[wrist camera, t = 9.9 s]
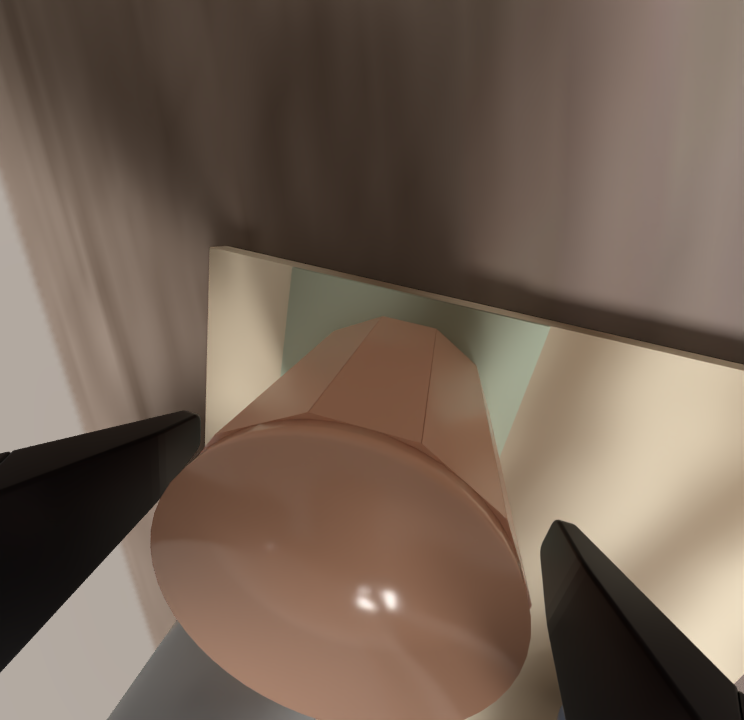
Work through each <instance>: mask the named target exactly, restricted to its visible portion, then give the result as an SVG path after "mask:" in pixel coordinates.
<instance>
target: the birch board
mask: <svg viewBox="0 0 744 720" xmlns="http://www.w3.org/2000/svg"><path fill="white" fill-rule="evenodd" d="M381 316H385V317H389V318H393V319H398V320H402V321H406V322H410V323H415V324H419V325H423V326H427V327H432V328H436V329H437V330H439V331H440V332H441V333H442V334H443V335H444V336H445V337H446V338H447V339H448V340H449V341H450V342H452V343H453V344H454V345H455V346H456V347H457V348H458V349H459V350H460V351H461V352H462V353H463V354H465V355H466V356H467V357H468V358H469V359H470V360H471V361H472V362H473V363H474V364H475V365H476V366H477V369H478V373H479V376H480V380H481V384H482V387H483V391H484V395H485V398H486V402H487V406H488V409H489V413H490V417H491V422H492V426H493V431H494V436H495V440H496V445H497V449H498V454H499V458H500V463H501V467H502V472H503V476H504V481H505V485H506V490H507V495H508V499H509V504H510V508H511V513H512V517H513V522H514V526H515V531H516V535H517V540H518V544H519V549H520V554H521V558H522V563H523V567H524V572H525V576H526V581H527V585H528V590H529V594H530V599H531V603H532V606H531V608H530V614H531V639H530V644H529V649H528V654H527V657H526V660H525V662H524V664H523V667H522V669H521V671H520V674H519V675H518V676H517V678H516V679H515V681H514V682H513V684H512V685H511V686H510V688H509V689H508V690H507V691H506V692H505V693H504V694H503V695H502V696H501V697H500V698H499V699H498V700H497V701H496V702H494V703H493V704H491V705H490V706H488V707H487V708H485V709H484V710H483V711H481V712H479V713H477V714H475V715H473V716H471V717H469V718H467V719H465V720H557V717H558V713H559V710H560V708H561V706H562V700H561V695H560V690H559V685H558V680H557V675H556V670H555V665H554V660H553V655H552V650H551V645H550V640H549V634H548V629H547V622H546V614H545V604H544V593H543V582H542V571H541V561H540V548H541V545H542V542H543V540H544V538H545V536H546V534H547V532H548V530H549V528H550V526H551V524H552V523H553V521H555V520H562V521H566V522H569V523H572V524H574V525H576V526H577V527H578V528H579V529H580V530H581V531H582V532H583V533H584V534H585V535H586V536H587V537H588V538H589V539H590V540H591V541H592V542H593V543H594V544H595V545H596V546H597V547H598V548H599V549H600V550H601V551H602V552H603V553H604V554H605V555H606V556H607V557H608V558H609V559H610V560H611V561H612V562H613V563H614V564H615V565H616V566H617V567H618V568H619V569H620V570H621V571H622V572H623V573H624V574H625V575H626V576H627V577H628V578H629V579H630V580H631V581H632V582H633V583H634V584H635V585H636V586H637V587H638V588H639V589H640V590H641V591H642V592H643V593H644V594H645V595H646V596H647V597H648V598H649V599H650V600H651V601H652V602H653V603H654V604H655V605H656V606H657V607H658V608H659V609H660V610H661V611H662V612H663V613H664V614H665V615H666V616H667V617H668V618H669V619H670V620H671V621H672V622H673V623H674V624H675V625H676V626H677V627H678V628H679V629H680V630H681V631H682V632H683V633H684V634H685V635H686V636H687V637H688V638H689V639H690V640H691V641H692V642H693V643H694V644H695V645H696V646H697V647H698V648H699V649H700V651H701V652H702V653H703V654H704V655H705V656H706V657H707V658H708V659H709V660H710V661H711V662H712V663H713V664H714V665H715V666H716V667H717V668H718V669H719V670H720V671H721V672H722V673H723V674H724V675H725V676H726V677H727V678H728V679H729V680H730V681H731V682H732V683H733V684H734V683H735V682H736V681H737V680H738V679H739V678H740V677H741V676H742V675H743V674H744V365H743V364H738V363H734V362H730V361H725V360H721V359H717V358H712V357H708V356H704V355H699V354H695V353H691V352H686V351H682V350H678V349H673V348H669V347H665V346H660V345H656V344H651V343H647V342H643V341H638V340H634V339H630V338H625V337H621V336H617V335H612V334H608V333H604V332H599V331H595V330H591V329H586V328H582V327H578V326H573V325H569V324H564V323H560V322H556V321H551V320H547V319H543V318H538V317H534V316H530V315H525V314H521V313H517V312H512V311H508V310H504V309H499V308H495V307H491V306H486V305H482V304H478V303H473V302H469V301H464V300H460V299H456V298H451V297H447V296H443V295H438V294H434V293H430V292H425V291H421V290H417V289H412V288H408V287H404V286H399V285H395V284H391V283H386V282H382V281H377V280H373V279H369V278H364V277H360V276H356V275H351V274H347V273H343V272H338V271H334V270H330V269H325V268H321V267H317V266H312V265H308V264H304V263H299V262H295V261H290V260H286V259H282V258H277V257H273V256H269V255H264V254H260V253H256V252H251V251H247V250H243V249H238V248H234V247H230V246H218V247H210V253H209V295H208V338H207V380H206V422H205V446H206V445H207V444H208V442H209V441H210V440H211V439H212V437H213V436H214V435H215V434H216V433H217V432H218V431H219V430H220V429H222V428H223V427H224V426H225V425H226V424H227V423H228V422H230V421H231V420H232V419H233V418H234V417H235V416H237V415H238V414H239V413H240V412H241V411H242V410H243V409H245V408H246V407H247V406H248V405H249V404H250V403H251V402H253V401H254V400H255V399H256V398H257V397H258V396H260V395H261V394H262V393H263V392H264V391H265V390H266V389H268V388H269V387H270V386H271V385H272V384H273V383H274V382H276V381H277V380H278V379H279V378H280V377H281V376H283V375H284V374H285V373H286V372H287V371H288V370H289V369H291V368H292V367H293V366H294V365H295V364H296V363H297V362H299V361H300V360H301V359H302V358H303V357H304V356H305V355H307V354H308V353H309V352H310V351H311V350H312V349H314V348H315V347H316V346H317V345H318V344H319V343H320V342H322V341H323V340H324V339H325V338H326V337H327V336H328V335H330V334H331V333H332V332H333V331H335V330H338V329H341V328H345V327H348V326H351V325H355V324H358V323H361V322H365V321H368V320H371V319H375V318H378V317H381Z"/></svg>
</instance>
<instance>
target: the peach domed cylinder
mask: <svg viewBox="0 0 744 720" xmlns="http://www.w3.org/2000/svg"><path fill="white" fill-rule="evenodd" d="M150 548H151V555H152V563H153V567H154V571H155V574H156V578H157V581H158V584H159V586H160V589H161V591H162V593H163V596H164V598H165V600H166V602H167V604H168V605H169V607H170V609H171V611H172V612H173V614H174V616H175V617H176V619H177V620H178V621H179V623H180V624H181V626H182V627H183V628H184V630H185V631H186V632H187V634H188V635H189V636H190V637H191V638H192V639H193V641H194V642H195V643H196V644H197V645H198V646H199V647H200V648H201V649H202V650H203V651H204V652H205V653H206V654H207V655H208V656H209V657H210V658H211V659H212V660H213V661H214V662H216V663H217V664H218V665H219V666H220V667H222V668H223V669H224V670H225V671H226V672H228V673H229V674H230V675H232V676H233V677H235V678H236V679H237V680H239V681H240V682H242V683H243V684H244V685H246V686H248V687H249V688H251V689H252V690H254V691H256V692H257V693H259V694H261V695H262V696H264V697H266V698H268V699H270V700H272V701H274V702H276V703H278V704H280V705H282V706H284V707H287V708H289V709H291V710H294V711H296V712H298V713H301V714H304V715H306V716H309V717H312V718H315V719H318V720H465V719H467V718H469V717H471V716H473V715H475V714H477V713H479V712H481V711H483V710H484V709H485V708H487V707H488V706H490V705H491V704H493V703H494V702H496V701H497V700H498V699H499V698H500V697H501V696H502V695H503V694H504V693H505V692H506V691H507V690H508V689H509V688H510V686H511V685H512V684H513V682H514V681H515V679H516V678H517V676H518V675H519V674H520V671H521V669H522V667H523V664H524V662H525V660H526V657H527V654H528V649H529V644H530V639H531V614H530V608H531V606H532V603H531V599H530V594H529V590H528V585H527V581H526V576H525V572H524V567H523V563H522V558H521V554H520V549H519V544H518V540H517V535H516V531H515V526H514V522H513V517H512V513H511V508H510V504H509V499H508V495H507V490H506V485H505V481H504V476H503V472H502V467H501V463H500V458H499V454H498V449H497V445H496V440H495V436H494V431H493V426H492V422H491V417H490V413H489V409H488V406H487V402H486V398H485V395H484V391H483V387H482V384H481V380H480V376H479V373H478V369H477V366H476V365H475V364H474V363H473V362H472V361H471V360H470V359H469V358H468V357H467V356H466V355H465V354H463V353H462V352H461V351H460V350H459V349H458V348H457V347H456V346H455V345H454V344H453V343H452V342H450V341H449V340H448V339H447V338H446V337H445V336H444V335H443V334H442V333H441V332H440V331H439V330H437V329H436V328H432V327H427V326H423V325H419V324H415V323H410V322H406V321H402V320H398V319H393V318H389V317H385V316H381V317H378V318H375V319H371V320H368V321H365V322H361V323H358V324H355V325H351V326H348V327H345V328H341V329H338V330H335V331H333V332H332V333H331V334H330V335H328V336H327V337H326V338H325V339H324V340H323V341H322V342H320V343H319V344H318V345H317V346H316V347H315V348H314V349H312V350H311V351H310V352H309V353H308V354H307V355H305V356H304V357H303V358H302V359H301V360H300V361H299V362H297V363H296V364H295V365H294V366H293V367H292V368H291V369H289V370H288V371H287V372H286V373H285V374H284V375H283V376H281V377H280V378H279V379H278V380H277V381H276V382H274V383H273V384H272V385H271V386H270V387H269V388H268V389H266V390H265V391H264V392H263V393H262V394H261V395H260V396H258V397H257V398H256V399H255V400H254V401H253V402H251V403H250V404H249V405H248V406H247V407H246V408H245V409H243V410H242V411H241V412H240V413H239V414H238V415H237V416H235V417H234V418H233V419H232V420H231V421H230V422H228V423H227V424H226V425H225V426H224V427H223V428H222V429H220V430H219V431H218V432H217V433H216V434H215V435H214V436H213V437H212V439H211V440H210V441H209V442H208V444H207V445H206V446H205V447H204V449H203V450H202V451H201V452H200V454H199V455H198V456H197V457H196V458H195V459H194V460H193V461H192V462H191V463H190V464H189V465H187V466H186V467H185V468H184V469H183V470H182V471H181V472H180V473H179V474H178V475H177V476H176V477H175V478H174V479H173V480H172V481H171V483H170V484H169V486H168V487H167V489H166V490H165V492H164V493H163V495H162V496H161V498H160V501H159V503H158V506H157V508H156V510H155V513H154V517H153V522H152V527H151V546H150Z"/></svg>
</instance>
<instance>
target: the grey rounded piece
mask: <svg viewBox="0 0 744 720" xmlns="http://www.w3.org/2000/svg"><path fill="white" fill-rule="evenodd" d="M107 720H315V718H312V717H309V716H306V715H304V714H301V713H298V712H296V711H294V710H291V709H289V708H287V707H284V706H282V705H280V704H278V703H276V702H274V701H272V700H270V699H268V698H266V697H264V696H262V695H261V694H259V693H257V692H256V691H254V690H252V689H251V688H249V687H248V686H246V685H244V684H243V683H242V682H240V681H239V680H237V679H236V678H235V677H233V676H232V675H230V674H229V673H228V672H226V671H225V670H224V669H223V668H222V667H220V666H219V665H218V664H217V663H216V662H214V661H213V660H212V659H211V658H210V657H209V656H208V655H207V654H206V653H205V652H204V651H203V650H202V649H201V648H200V647H199V646H198V645H197V644H196V643H195V642H194V641H193V639H192V638H191V637H190V636H189V635H188V634H187V632H186V631H185V630H184V628H183V627H182V626H181V624H180V623H179V621H178V620H176V622H175V623H174V625H173V626H172V627H171V629H170V630H169V632H168V633H167V635H166V636H165V637H164V639H163V640H162V642H161V643H160V645H159V646H158V647H157V649H156V650H155V652H154V653H153V655H152V656H151V658H150V659H149V661H148V662H147V663H146V665H145V666H144V668H143V669H142V670H141V672H140V673H139V675H138V676H137V677H136V679H135V680H134V682H133V683H132V685H131V686H130V688H129V689H128V690H127V692H126V693H125V695H124V696H123V697H122V699H121V700H120V702H119V704H118V705H117V706H116V708H115V709H114V710H113V712H112V713H111V715H110V716H109V718H108V719H107Z"/></svg>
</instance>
